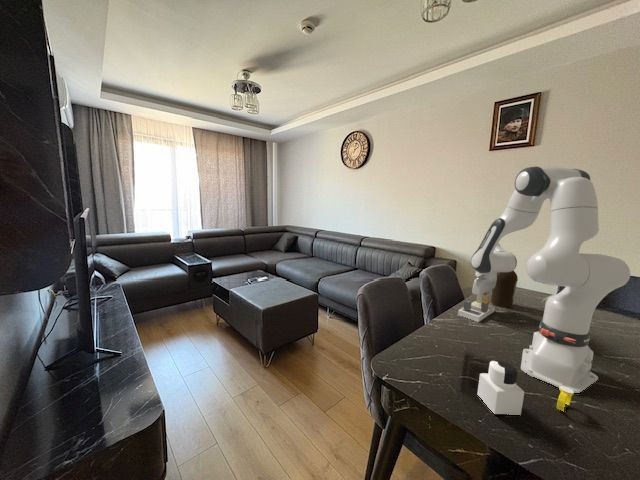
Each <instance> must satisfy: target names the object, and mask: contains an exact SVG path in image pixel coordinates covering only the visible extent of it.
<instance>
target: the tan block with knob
mask: <svg viewBox="0 0 640 480" xmlns="http://www.w3.org/2000/svg"><path fill="white" fill-rule="evenodd" d="M489 299H490V293H489V294H488V293H484V294H483V300H486V301H490V300H489ZM475 301H476V302H477V303H480V304H482V301H478V295H476V300H475Z"/></svg>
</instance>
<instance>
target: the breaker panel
mask: <svg viewBox="0 0 640 480" xmlns="http://www.w3.org/2000/svg"><path fill="white" fill-rule="evenodd" d="M481 305H482V304H480V303H477V302H476V300H475V301H473V302H471V309H470V310H469V311H467V310H464V306H463V307H461V308H460V309H458V311H457V316H459V315H460V316H459V317H462V316H463V318H465V317H466V318H465V319H467V318H468V320H470V319H471V320H470V321H473V320H474V322H476V323H479V322H481V321H482V320H484V319H485V318H487V317H488V316H489V315H491V314H492V313H494V312H495V305H494V306H493V305H491V304H489V306H488V311H486V312H484V311H481Z"/></svg>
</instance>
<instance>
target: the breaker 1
mask: <svg viewBox="0 0 640 480" xmlns="http://www.w3.org/2000/svg"><path fill="white" fill-rule="evenodd" d="M463 302H464V303H463V307H464V310H467V311H469V310H470V309H471V303H473V302H472V301H471V300H469V299H468V300H465V301H463Z"/></svg>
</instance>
